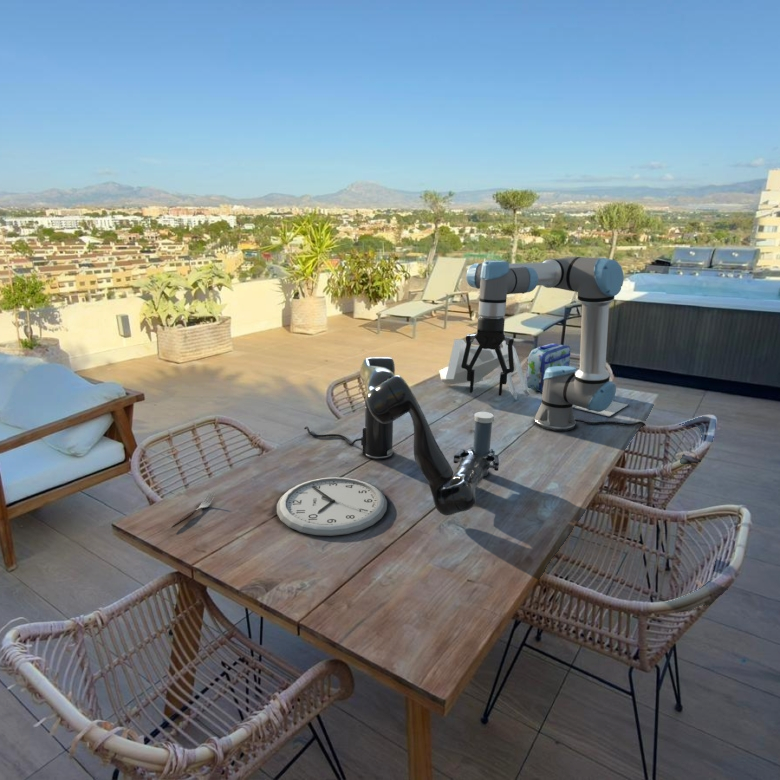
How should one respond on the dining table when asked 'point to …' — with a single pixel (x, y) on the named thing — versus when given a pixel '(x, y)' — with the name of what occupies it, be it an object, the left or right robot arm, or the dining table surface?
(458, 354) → the white plastic object
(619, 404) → the invitation card
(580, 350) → the right robot arm
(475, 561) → the dining table surface
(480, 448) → the jar
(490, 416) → the lid
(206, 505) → the fork
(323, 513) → the wall clock
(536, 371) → the lunch box
